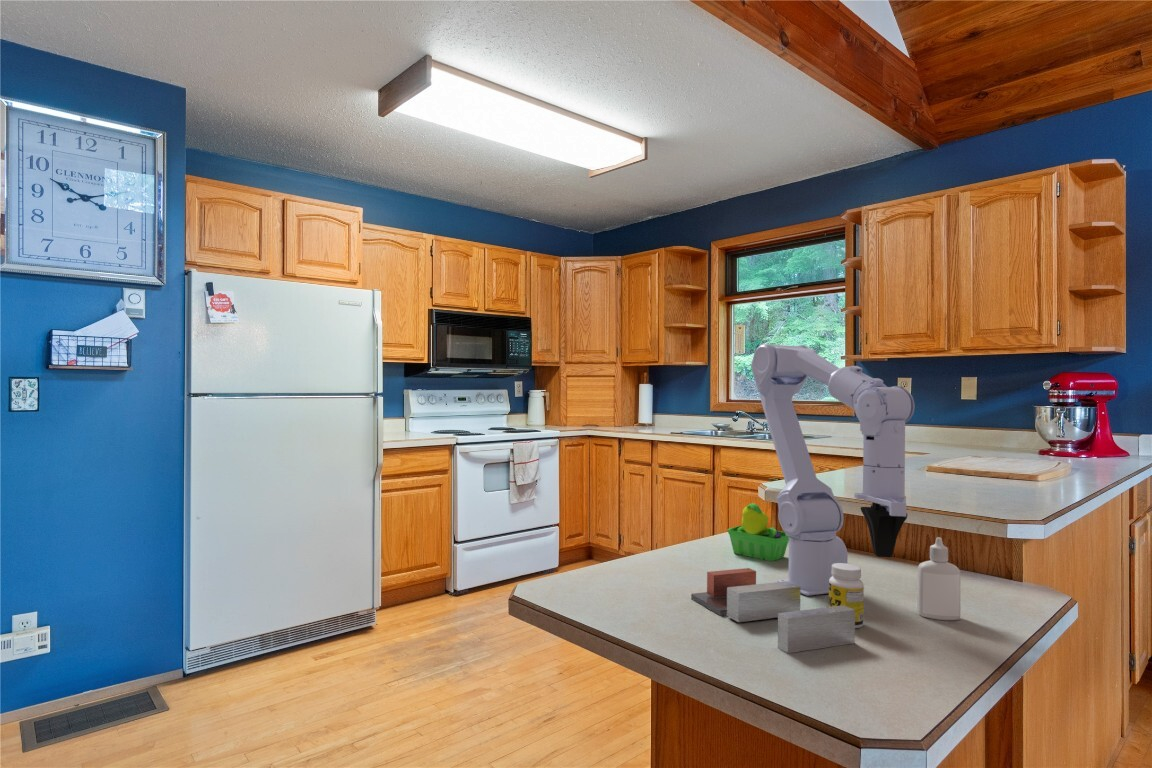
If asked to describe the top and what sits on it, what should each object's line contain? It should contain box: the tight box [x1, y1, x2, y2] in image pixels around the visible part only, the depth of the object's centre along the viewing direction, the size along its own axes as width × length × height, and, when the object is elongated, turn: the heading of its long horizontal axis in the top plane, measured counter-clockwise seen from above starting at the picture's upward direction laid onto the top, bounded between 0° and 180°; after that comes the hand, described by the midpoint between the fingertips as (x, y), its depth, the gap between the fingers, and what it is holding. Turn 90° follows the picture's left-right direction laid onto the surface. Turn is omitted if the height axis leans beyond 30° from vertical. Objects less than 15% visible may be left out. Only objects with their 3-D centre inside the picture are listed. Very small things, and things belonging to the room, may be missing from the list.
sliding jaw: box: [706, 567, 801, 623], centre depth 101 cm, size 11×11×4 cm
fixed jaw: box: [777, 605, 856, 654], centre depth 86 cm, size 11×2×4 cm, turn 110°
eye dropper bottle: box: [916, 536, 961, 621], centre depth 99 cm, size 4×6×12 cm
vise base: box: [690, 591, 727, 617], centre depth 103 cm, size 12×8×1 cm
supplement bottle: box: [828, 563, 865, 629], centre depth 95 cm, size 5×5×8 cm
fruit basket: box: [727, 502, 789, 562], centre depth 135 cm, size 11×9×11 cm
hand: (883, 555), depth 97 cm, fingers closed
